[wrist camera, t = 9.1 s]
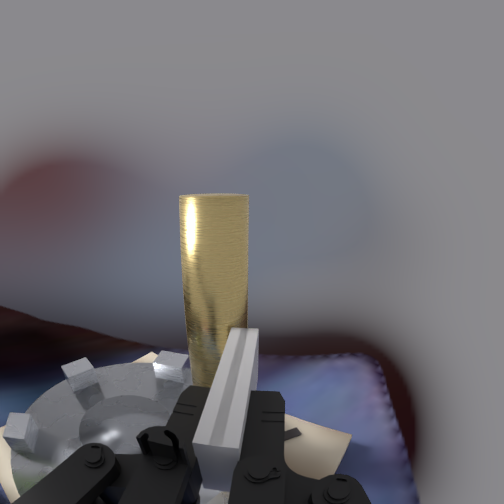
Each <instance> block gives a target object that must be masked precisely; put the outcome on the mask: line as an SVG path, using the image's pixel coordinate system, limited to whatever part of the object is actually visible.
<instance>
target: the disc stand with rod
mask: <svg viewBox="0 0 504 504" xmlns="http://www.w3.org/2000/svg"><path fill="white" fill-rule="evenodd" d="M179 206H180V237H181V238H180V240H181V262H182V279H183V294H184V306H185V318H186V329H187V339H188V349H189V355H185V354H179V353H173V352H167V351H161V352H160V354H159V355H158V356H157V358H156V359H155V360H154V362H153V363H125V364H117V365H110V366H105V367H100V368H96V369H94V367H93V366H92V365H91V363H90V362H89V361H88V360H87V358H86V357H85V358H82V359H79V360H77V361H74V362H71V363H69V364H66V365H63V366H61V367H62V370H63V373H64V375H65V378H66V380H64V381H62V382H60V383H58V384H57V385H55V386H53V387H52V388H51V389H49V390H48V391H46V392H45V393H44V394H42V395H41V396H40V397H39V398H38V399H37V400H36V401H35V402H34V403H33V404H32V405H31V406H30V407H29V408H28V410H27V411H26V412H25V414H23V413H12V412H10V414H9V417H8V420H7V423H6V426H5V429H4V433H3V438H4V439H5V441H6V442H7V444H8V445H9V446H10V448H11V469H12V475H13V479H14V482H15V485H16V488H17V491H18V493H19V495H20V496H22V495H23V494H24V493H25V492H27V491H28V490H29V489H30V488H32V487H33V486H34V485H35V484H37V483H38V482H39V481H40V480H41V479H43V478H44V477H45V476H46V475H48V474H49V473H50V472H51V471H52V470H54V469H55V468H56V467H57V466H58V465H60V464H61V463H62V462H63V461H64V460H66V459H67V458H68V457H69V456H70V455H71V454H73V453H74V452H75V451H76V450H77V449H79V448H80V447H82V446H83V445H85V444H89V443H102V444H104V445H106V446H108V447H109V448H110V449H111V450H112V451H113V452H114V454H141V453H142V451H141V449H140V446H139V444H138V441H137V439H136V436H137V435H138V434H139V433H140V432H141V431H143V430H145V429H146V428H148V427H153V426H166V424H167V422H168V420H169V418H170V416H171V413H173V409H174V407H175V405H176V403H177V401H178V398H179V396H180V394H181V393H182V392H183V391H184V390H185V389H186V388H188V387H189V386H190V385H193V386H201V387H209V388H211V386H212V383H213V380H214V377H215V374H216V372H217V369H218V366H219V363H220V360H221V357H222V354H223V351H224V348H225V345H226V342H227V339H228V336H229V333H230V330H231V327H234V328H247V325H248V324H247V320H248V225H249V224H248V222H249V195H245V194H191V195H181V196H179ZM229 494H230V492H225V491H218V490H211V489H204V488H203V484H201V488H200V491H199V495H200V504H228V499H229Z"/></svg>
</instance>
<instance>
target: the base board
mask: <svg viewBox="0 0 504 504" xmlns="http://www.w3.org/2000/svg"><path fill="white" fill-rule="evenodd" d="M157 356H158V355H157V354H155V353H153V352H151V353H149V354H147V355H145V356H143V357H141V358H140V359H138V360H136V361H134V362H132V363H153V362H154V360H155V359H156V358H157ZM5 426H6V425H5ZM5 426H3V427H1V428H0V483H1V485H2V487H3V489H4V491H5V493H6V495H7V497H8V499H9V501H10V503H13V502H14V501H15V500H17V499H18V498H19V497H20V495H19V493H18V491H17V488H16V485H15V482H14V479H13V475H12V469H11V448H10V446H9V445H8V444H7V442H6V441H5V439H4V438H3V433H4V429H5ZM351 437H352V435H351V434H347V433H344V432H340V431H337V430H333V429H330V428H326V427H323V426H320V425H317V424H314V423H310V422H307V421H304V420H301V419H299V418H296V417H293V416H290V415H287V414H285V438H284V458H285V462H286V464H287V466H288V467H289V468H290V469H291V470H292V471H294V472H295V473H297V474H299V475H302V476H305V477H309V478H314V479H318V480H320V479H321V478H324V477H326V476H328V475H334V474H335V472H336V470H337V468H338V466H339V464H340V462H341V460H342V458H343V456H344V454H345V452H346V450H347V447H348V445H349V442H350V440H351Z"/></svg>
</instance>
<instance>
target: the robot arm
mask: <svg viewBox="0 0 504 504" xmlns="http://www.w3.org/2000/svg"><path fill="white" fill-rule="evenodd" d="M258 332H259V329H252V328H234V327H231V330H230V333H229V336H228V339H227V342H226V345H225V348H224V351H223V354H222V357H221V360H220V363H219V366H218V369H217V372H216V374H215V377H214V380H213V383H212V386H211V388H209V387H201V386H193V385H190V386H189V387H188V388H186V389H185V390H184V391H183V392H182V393H181V394H180V396H179V398H178V401H177V403H176V405H175V407H174V409H173V413H171V416H170V418H169V420H168V422H167V424H166V426H153V427H148V428H146V429H145V430H143V431H141V432H140V433H139V434H138V435H137V436H136V439H137V441H138V444H139V446H140V449H141V451H142V453H141V454H114V452H113V451H112V450H111V449H110V448H109V447H108V446H106V445H104V444H102V443H89V444H85V445H83V446H82V447H80V448H79V449H77V450H76V451H75V452H74V453H73V454H71V455H70V456H69V457H68V458H67V459H66V460H64V461H63V462H62V463H61V464H60V465H58V466H57V467H56V468H55V469H54V470H52V471H51V472H50V473H49V474H48V475H46V476H45V477H44V478H43V479H41V480H40V481H39V482H38V483H37V484H35V485H34V486H33V487H32V488H30V489H29V490H28V491H27V492H25V493H24V494H23V495H22V496H20V497H19V498H18V499H17V500H15V501H14V502H13V503H11V504H200V495H199V491H200V488H201V484H203V488H204V489H211V490H218V491H225V492H230V494H229V499H228V504H371V502H370V500H369V499H368V497H367V495H366V493H365V491H364V489H363V487H362V486H361V484H360V483H359V482H358V481H357V480H356V479H354V478H352V477H350V476H348V475H343V474H334V475H328V476H326V477H324V478H321V479H320V480H318V479H314V478H309V477H305V476H302V475H299V474H297V473H295V472H294V471H292V470H291V469H290V468H289V467H288V466H287V464H286V462H285V458H284V438H285V401H284V399H283V397H282V396H281V394H280V392H275V391H256V386H257V379H258Z"/></svg>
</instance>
